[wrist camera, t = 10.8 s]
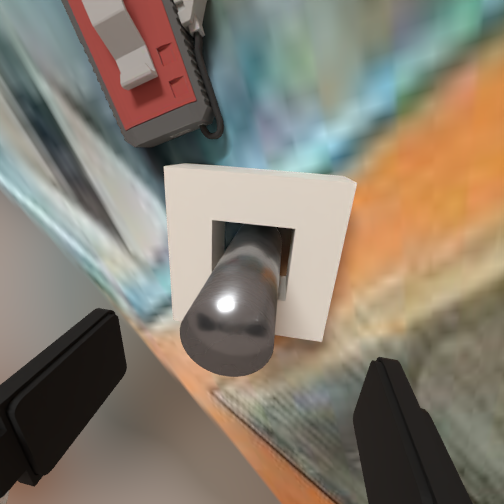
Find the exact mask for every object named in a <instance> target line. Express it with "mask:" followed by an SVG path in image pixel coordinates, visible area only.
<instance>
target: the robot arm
mask: <svg viewBox="0 0 504 504" xmlns="http://www.w3.org/2000/svg"><path fill="white" fill-rule="evenodd" d="M126 368H127V366H126V359H125V354H124V348H123V342H122V337H121V331H120V325H119V319H118V316H117V315H115V312H114V311H112V310H106V309H100V308H98V309H95V310H93V311H92V312H91V313H90V314H88V315H87V316H86V317H85V318H83V319H82V320H81V321H80V322H78V323H77V324H76V325H75V326H73V327H72V328H71V329H70V330H68V331H67V332H66V333H65V334H64V335H62V336H61V337H60V338H59V339H57V340H56V341H55V342H53V343H52V344H51V345H50V346H48V347H47V348H46V349H45V350H43V351H42V352H41V353H40V354H38V355H37V356H36V357H35V358H33V359H32V360H31V361H30V362H29V363H27V364H26V365H25V366H24V367H22V368H21V369H20V370H19V371H17V372H16V373H15V374H13V375H12V376H11V377H10V378H9V379H7V380H6V381H5V382H3V383H2V384H1V385H0V504H6V503H7V498H8V494H9V490H10V489H11V487H12V486H13V485H14V484H15V482H16V481H17V480H18V481H19V482H20V483H24V484H27V485H31V486H35V485H36V484H37V483H38V482H39V480H40V479H41V478H42V476H43V475H46V474H48V473H49V472H50V471H51V470H52V469H53V468H54V467H55V465H56V464H57V462H58V461H59V460H60V459H61V457H62V456H63V455H64V454H65V452H66V451H67V449H68V448H69V447H70V446H71V444H72V443H73V442H74V440H75V439H76V438H77V436H78V435H79V434H80V432H81V431H82V430H83V429H84V427H85V426H86V425H87V423H88V422H89V421H90V419H91V418H92V417H93V416H94V414H95V413H96V412H97V410H98V409H99V407H100V406H101V405H102V404H103V402H104V401H105V400H106V398H107V397H108V395H110V393H111V392H112V391H113V389H114V388H115V387H116V385H117V384H118V383H119V381H120V380H121V379H122V377H123V376H124V374H125V372H126ZM353 424H354V429H355V435H356V440H357V445H358V450H359V455H360V461H361V466H362V471H363V476H364V482H365V487H366V492H367V497H368V502H369V504H472V502H471V499H470V497H469V495H468V493H467V491H466V489H465V487H464V485H463V483H462V481H461V479H460V477H459V474H458V472H457V470H456V468H455V466H454V464H453V462H452V460H451V458H450V456H449V454H448V452H447V450H446V447H445V445H444V443H443V441H442V439H441V437H440V435H439V433H438V431H437V429H436V427H435V425H434V422H433V420H432V418H431V417H430V415H429V413H428V412H427V411H426V410H425V409H422V408H420V406H419V404H418V401H417V399H416V397H415V395H414V393H413V390H412V388H411V386H410V384H409V382H408V380H407V377H406V375H405V373H404V371H403V369H402V366H401V364H400V363H399V361H398V360H394V359H388V358H382V357H378V358H377V360H376V361H371V363H370V366H369V369H368V372H367V375H366V378H365V381H364V384H363V387H362V390H361V393H360V396H359V399H358V402H357V405H356V408H355V411H354V415H353Z"/></svg>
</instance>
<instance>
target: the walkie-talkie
mask: <svg viewBox="0 0 504 504" xmlns="http://www.w3.org/2000/svg"><path fill="white" fill-rule="evenodd" d="M61 1H62V3H63V5H64V7H65V9H66V12H67V14H68V16H69V18H70V20H71V23H72V25H73V27H74V29H75V32H76V34H77V36H78V38H79V40H80V43H81V44H82V45H83V47H84V51H85V53H86V54H87V56H88V58H89V62H90V63H91V65H92V67H93V71H94V73H96V76H97V80H98V82H100V85H101V89H102V91H104V93H105V98H106V100H108V102H109V104H110V105H109V107H110V109H112V111H113V113H114V114H113V116H114V117H115V118H116V120H117V124H118V126H119V127H120V129H121V133H122V134H123V136H124V138H125V139H124V140H125V141H126V142H128V143H129V144H131V145H132V146H134V147H154V146H157V145H159V144H162V143H164V142H167V141H169V140H172V139H174V138H177V137H179V136H182V135H184V134H187V133H189V132H192V131H194V130H197V129H199V128H200V129H201V132H202V133H203V134H204V136H205V137H207V138H208V139H218V138H219V137H221V136H222V134H223V131H224V124H223V119H222V116H221V113H220V110H219V107H218V103H217V100H216V97H215V94H214V91H213V88H212V85H211V82H210V79H209V76H208V73H207V69H206V66H205V63H204V59H203V54H202V50H203V41H202V37H203V36H205V33H204V30H203V27H202V23H203V18H204V13H205V8H206V3H207V0H61ZM190 35H191V36H192V37H194V38H195V47H194V45H193V43H194V41H193V39H192V38H191V36H190ZM214 116H215V118H216V121H217V131H216V132H215V133H210V132H209V131H208V129H207V127H206V126H207V125H210V124H212V122H213V119H214Z"/></svg>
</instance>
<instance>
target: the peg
mask: <svg viewBox="0 0 504 504" xmlns="http://www.w3.org/2000/svg"><path fill="white" fill-rule="evenodd" d="M281 250H282V238H281V235H280V233H279V231H278V230H277V228H276V227H273V226H264V225H254V224H244V225H242V226H241V227H240V229H239V230H238V232H237V233H236V235H235V236H234V238H233V240H232V241H231V243H230V244H229V246H228V248H227V249H226V251H225V252H224V254H223V256H222V257H221V259H220V260H219V262H218V264H217V265H216V267H215V268H214V270H213V272H212V273H211V275H210V276H209V278H208V280H207V281H206V283H205V284H204V286H203V288H202V289H201V291H200V292H199V294H198V296H197V297H196V299H195V300H194V302H193V304H192V305H191V307H190V308H189V310H188V312H187V313H186V315H185V317H184V318H183V320H182V323H181V327H180V338H181V342H182V345H183V347H184V349H185V351H186V352H187V354H188V355H189V356H190V358H191V359H192V360H193V361H194V362H196V363H197V364H198V365H199V366H201V367H202V368H204V369H206V370H208V371H210V372H213V373H215V374H219V375H223V376H230V377H238V376H245V375H249V374H252V373H254V372H256V371H258V370H260V369H261V368H262V367H264V366H265V365H266V363H267V362H268V361H269V359H270V358H271V355H272V353H273V348H274V336H275V324H276V312H277V299H278V287H279V275H280V263H281Z"/></svg>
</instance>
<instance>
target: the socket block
mask: <svg viewBox="0 0 504 504" xmlns="http://www.w3.org/2000/svg"><path fill="white" fill-rule="evenodd" d="M164 180H165V196H166V212H167V228H168V245H169V261H170V277H171V293H172V309H173V320H177V321H182V320H183V318H184V317H185V315H186V313H187V312H188V310H189V308H190V307H191V305H192V304H193V302H194V300H195V299H196V297H197V296H198V294H199V292H200V291H201V289H202V288H203V286H204V284H205V283H206V281H207V280H208V278H209V276H210V275H211V273H212V272H213V270H214V268H215V267H216V265H217V264H218V262H219V260H220V259H221V257H222V256H223V254H224V247H225V221H226V222H235V223H245V224H254V225H264V226H273V227H283V228H292V236H291V243H290V251H289V258H288V265H287V273H286V276H280V275H279V287H278V299H277V312H276V324H275V335H279V336H285V337H292V338H299V339H306V340H312V341H319V342H322V339H323V334H324V330H325V325H326V321H327V316H328V312H329V307H330V303H331V298H332V294H333V289H334V285H335V280H336V276H337V271H338V267H339V262H340V258H341V253H342V249H343V244H344V240H345V235H346V231H347V226H348V222H349V217H350V213H351V208H352V203H353V199H354V194H355V190H356V185H357V183H356V182H354V181H352V180H350V179H349V178H347V177H345V176H337V175H325V174H313V173H301V172H289V171H277V170H265V169H254V168H242V167H230V166H218V165H206V164H194V163H183V164H176V165H169V166H164Z"/></svg>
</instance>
